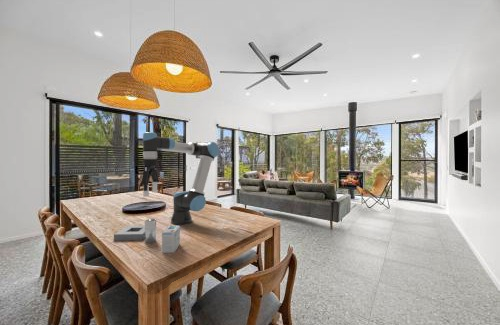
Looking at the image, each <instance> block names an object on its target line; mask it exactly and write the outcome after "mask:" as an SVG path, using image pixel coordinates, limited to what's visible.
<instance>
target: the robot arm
mask: <svg viewBox="0 0 500 325" xmlns="http://www.w3.org/2000/svg"><path fill="white" fill-rule="evenodd" d="M142 150H143V152H142V156H143V162H142V164H143V166H144V167H143V172H142V177H141V182H140V185H142V186H143V188H142V191H143V197H144V198H145V197H146V198H147V197H150V185H149V182H150V180H151V179H152V182H151V183H152V184H151V185H152V186H151V187H152V188H151V189H152V190H151V191H152V193H158V182H159V181H160V179H159V174H158V169H157V168H158V166H157V165H158V151H164V152H175V153H183V154H187V155H190V156H195V157H199V164H198V167H197V170H196V173H195V176H194V181H193V184H192V188H191V189H189V190H186V191H178V192H174V194H173V201H172V202H173V212H172V216H171V219H170V224H172V225H176V226H180V225H186V224H190V223H191V222H192V220H193V219H192V215H191V212H190V211H192V212H200V211H202V210H203V209H204V208H205V206H206V204H207V200H206V197H205V192H204V190H205V187H206V184H207V180H208V176H209V171H210V169H211V165H212V162H214V161H215V158H216V157H218V156H219V155H220V147H219V145H218V144H217V142H214V141H207V142H201V141H200V142H189V143H188V142H187V143H185V142H180V141H179V142H178V141H175V139H174V138H172V137H164V136H158V133H156V132H152V131H151V132H150V131H149V132H148V131H146V132H144V133H143V134H142Z"/></svg>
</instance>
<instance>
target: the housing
mask: <svg viewBox="0 0 500 325" xmlns="http://www.w3.org/2000/svg"><path fill="white" fill-rule="evenodd" d="M143 240H145V224H143V225H127V226H126V227H124V228H122V229H120V230H119V231H117V232H116V233H114V234H113V241H143Z"/></svg>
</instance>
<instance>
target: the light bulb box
mask: <svg viewBox="0 0 500 325" xmlns="http://www.w3.org/2000/svg"><path fill="white" fill-rule="evenodd" d="M180 232H181V226H180V225H167V227H166V228H165V229H164V230H163V231H162V232H161V253H163V254H165V253H175V252H176V251H177V249H178V247H179V246H180V243H181V242H180V241H181V238H180V237H181V233H180Z"/></svg>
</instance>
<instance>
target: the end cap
mask: <svg viewBox="0 0 500 325" xmlns="http://www.w3.org/2000/svg"><path fill="white" fill-rule="evenodd" d="M144 225H145V238H144V243H147V244H149V243H153V242H156V241H157V219H156V218H147V219H145V220H144Z"/></svg>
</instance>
